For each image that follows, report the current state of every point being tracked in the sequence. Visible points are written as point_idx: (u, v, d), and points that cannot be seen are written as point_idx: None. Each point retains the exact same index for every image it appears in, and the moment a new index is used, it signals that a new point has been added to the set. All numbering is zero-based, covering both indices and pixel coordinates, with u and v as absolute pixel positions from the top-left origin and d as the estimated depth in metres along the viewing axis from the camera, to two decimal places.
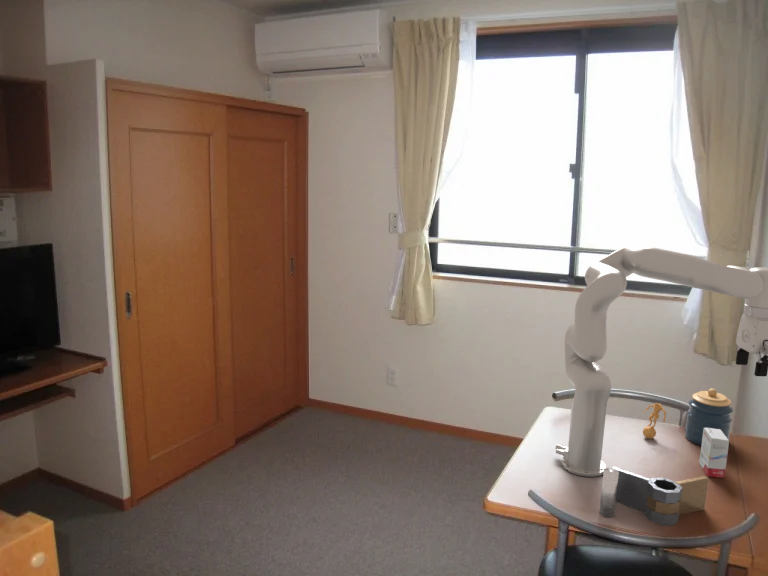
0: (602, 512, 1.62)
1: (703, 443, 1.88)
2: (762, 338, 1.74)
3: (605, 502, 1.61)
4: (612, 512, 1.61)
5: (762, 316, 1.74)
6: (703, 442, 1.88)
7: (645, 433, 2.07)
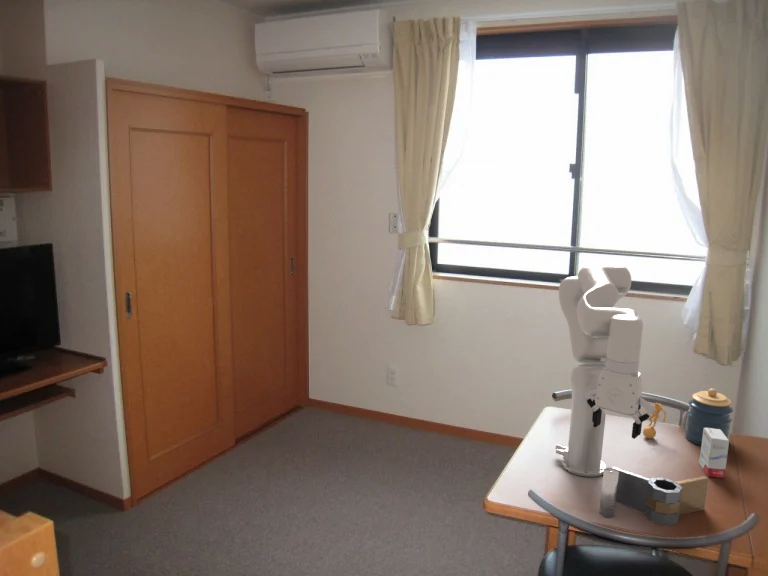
0: (602, 512, 1.62)
1: (703, 443, 1.88)
2: (638, 396, 1.52)
3: (605, 502, 1.61)
4: (612, 512, 1.61)
5: (635, 371, 1.52)
6: (703, 442, 1.88)
7: (645, 433, 2.07)
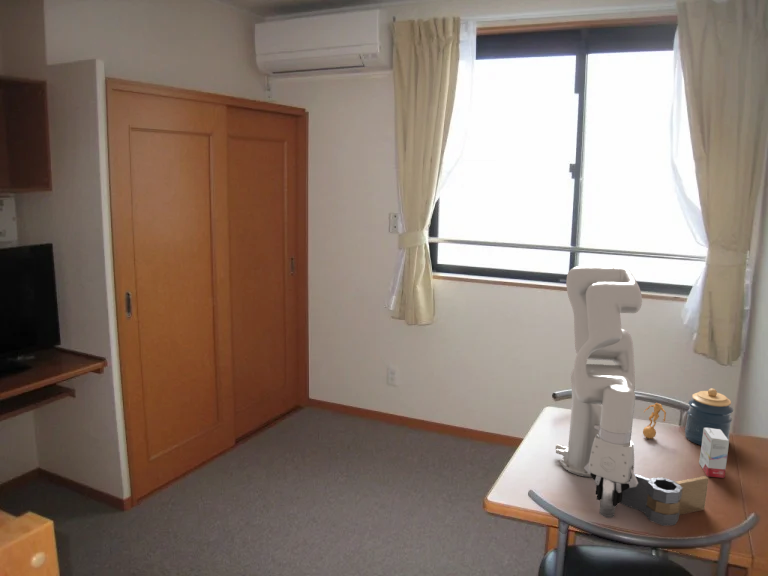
0: (602, 512, 1.62)
1: (703, 443, 1.88)
2: (631, 465, 1.56)
3: (605, 502, 1.61)
4: (612, 512, 1.61)
5: (627, 441, 1.55)
6: (703, 442, 1.88)
7: (645, 433, 2.07)
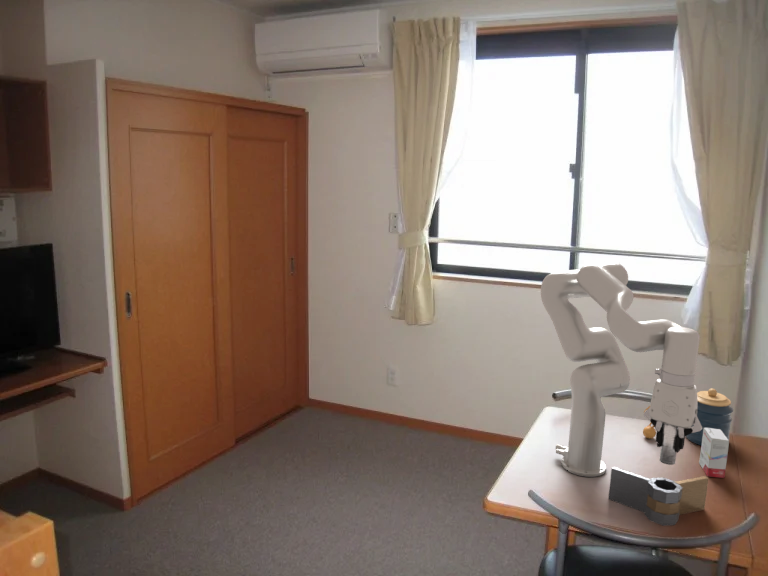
0: (663, 459, 1.58)
1: (703, 443, 1.88)
2: (695, 409, 1.52)
3: (666, 448, 1.57)
4: (674, 459, 1.57)
5: (691, 384, 1.51)
6: (703, 442, 1.88)
7: (645, 433, 2.07)
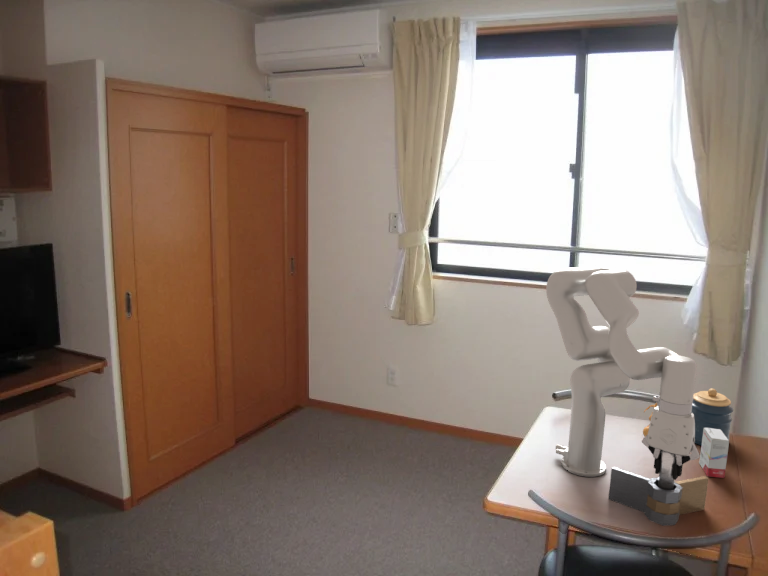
0: (661, 486, 1.59)
1: (703, 443, 1.88)
2: (692, 437, 1.53)
3: (664, 475, 1.58)
4: (672, 485, 1.58)
5: (689, 412, 1.53)
6: (703, 442, 1.88)
7: (645, 433, 2.07)
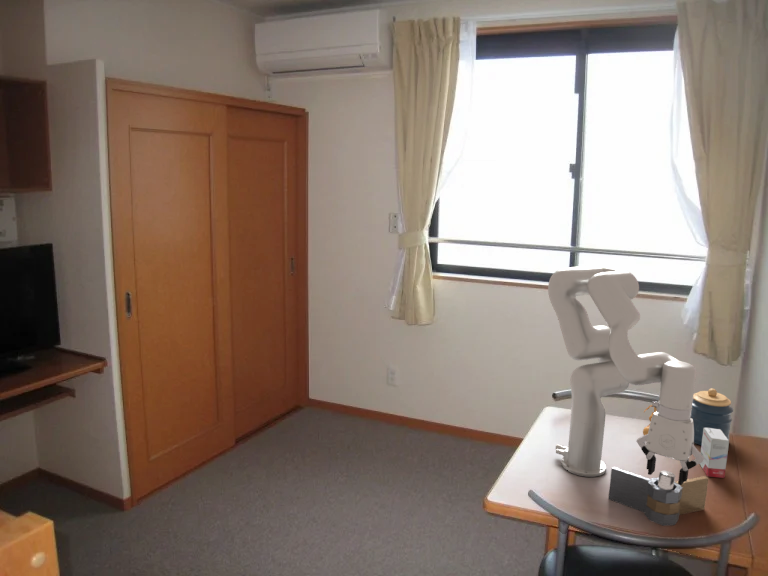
0: None
1: (703, 443, 1.88)
2: (691, 442, 1.53)
3: None
4: None
5: (688, 418, 1.53)
6: (703, 442, 1.88)
7: (645, 433, 2.07)
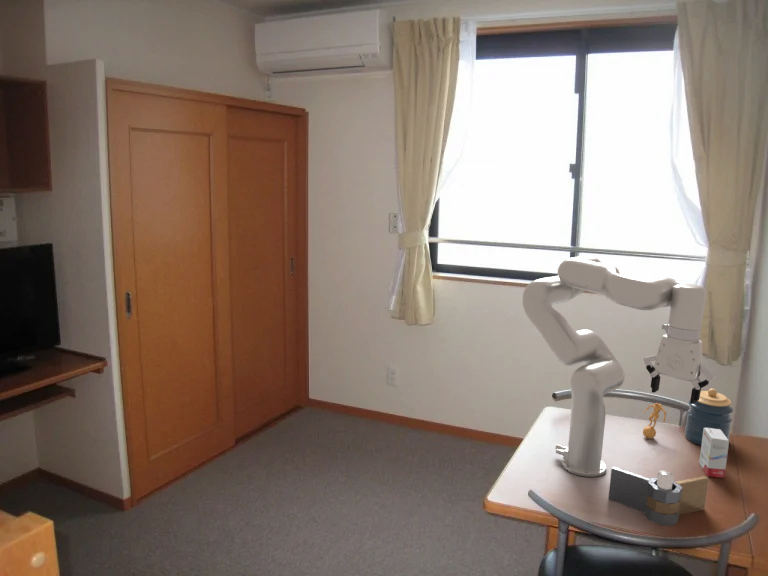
0: None
1: (703, 443, 1.88)
2: (699, 362, 1.57)
3: None
4: None
5: (696, 338, 1.56)
6: (703, 442, 1.88)
7: (645, 433, 2.07)
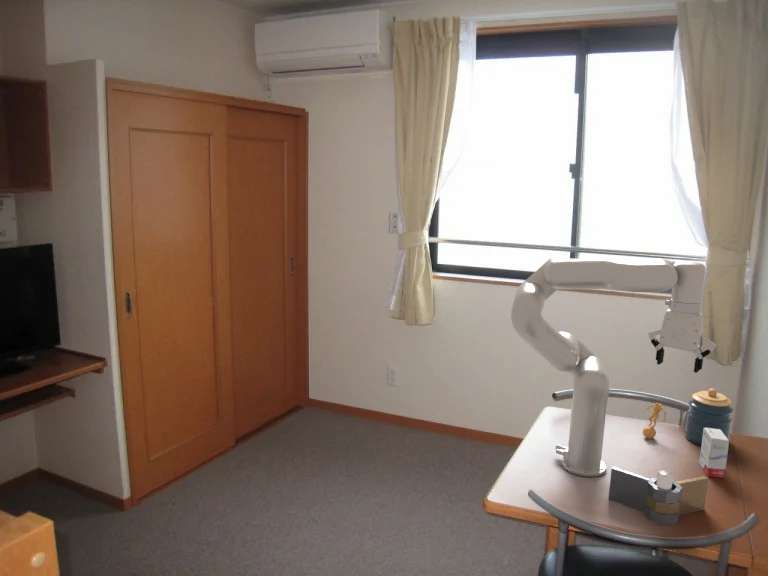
0: None
1: (703, 443, 1.88)
2: (701, 333, 1.69)
3: None
4: None
5: (698, 311, 1.69)
6: (703, 442, 1.88)
7: (645, 433, 2.07)
